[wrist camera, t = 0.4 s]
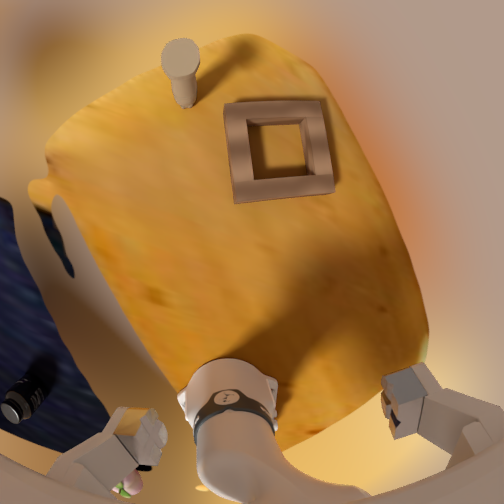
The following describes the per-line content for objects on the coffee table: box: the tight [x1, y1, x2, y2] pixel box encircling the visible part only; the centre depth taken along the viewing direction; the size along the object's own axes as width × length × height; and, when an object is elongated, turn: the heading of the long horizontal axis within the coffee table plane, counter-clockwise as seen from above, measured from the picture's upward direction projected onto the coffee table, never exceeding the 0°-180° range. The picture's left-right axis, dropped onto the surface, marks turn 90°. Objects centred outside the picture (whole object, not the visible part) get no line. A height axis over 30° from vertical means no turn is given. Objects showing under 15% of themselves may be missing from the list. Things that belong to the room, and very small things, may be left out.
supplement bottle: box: [1, 374, 47, 424], centre depth 38 cm, size 7×7×12 cm
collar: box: [223, 101, 335, 204], centre depth 45 cm, size 16×16×4 cm
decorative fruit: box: [112, 469, 143, 498], centre depth 43 cm, size 9×8×10 cm
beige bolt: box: [161, 38, 200, 109], centre depth 37 cm, size 5×6×15 cm
